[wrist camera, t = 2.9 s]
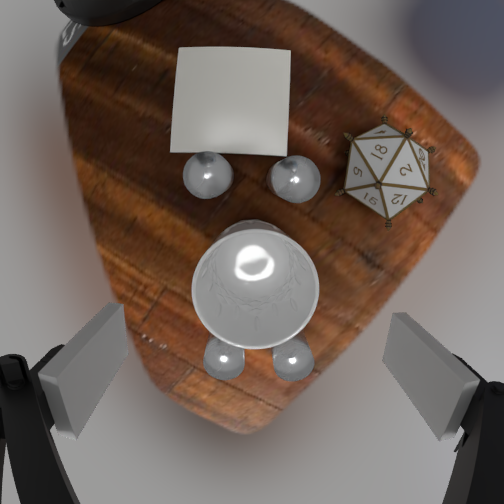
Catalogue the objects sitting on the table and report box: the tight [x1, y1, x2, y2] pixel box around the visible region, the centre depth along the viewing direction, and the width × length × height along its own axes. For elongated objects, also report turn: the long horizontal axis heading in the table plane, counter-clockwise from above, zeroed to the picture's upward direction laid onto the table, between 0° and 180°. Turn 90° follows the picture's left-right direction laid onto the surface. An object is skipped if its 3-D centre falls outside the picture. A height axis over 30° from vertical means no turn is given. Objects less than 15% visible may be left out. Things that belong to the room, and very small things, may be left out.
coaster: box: [170, 47, 291, 157], centre depth 26 cm, size 10×10×1 cm
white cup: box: [192, 219, 319, 349], centre depth 25 cm, size 8×8×10 cm
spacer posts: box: [183, 151, 320, 381], centre depth 26 cm, size 17×10×7 cm, turn 177°
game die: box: [335, 115, 438, 231], centre depth 24 cm, size 9×8×10 cm
